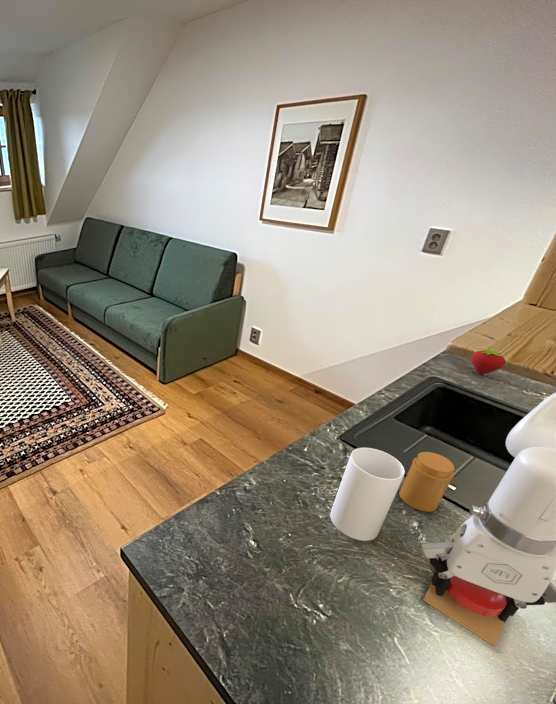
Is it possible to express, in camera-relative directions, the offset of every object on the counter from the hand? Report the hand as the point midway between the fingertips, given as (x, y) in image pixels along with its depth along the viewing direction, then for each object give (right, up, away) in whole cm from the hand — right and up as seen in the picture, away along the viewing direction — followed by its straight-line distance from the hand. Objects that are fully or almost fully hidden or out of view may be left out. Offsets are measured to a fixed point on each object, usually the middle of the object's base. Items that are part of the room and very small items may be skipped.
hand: (467, 599), depth 65 cm
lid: (0, +3, -1) cm, 3 cm away
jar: (+8, +9, +19) cm, 23 cm away
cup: (-9, +6, +15) cm, 18 cm away
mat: (0, -1, +1) cm, 1 cm away
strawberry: (+59, +33, +58) cm, 89 cm away
